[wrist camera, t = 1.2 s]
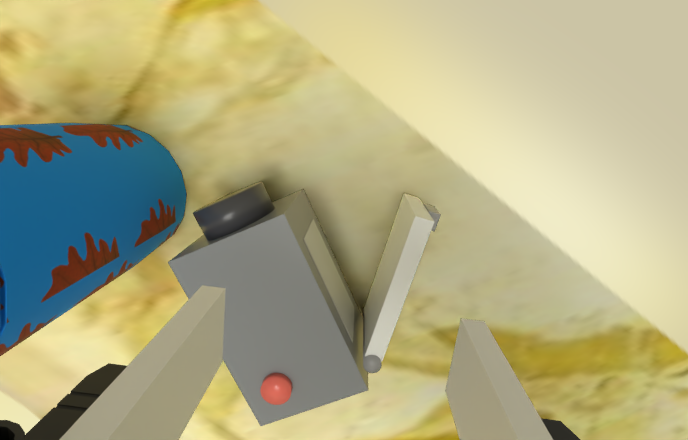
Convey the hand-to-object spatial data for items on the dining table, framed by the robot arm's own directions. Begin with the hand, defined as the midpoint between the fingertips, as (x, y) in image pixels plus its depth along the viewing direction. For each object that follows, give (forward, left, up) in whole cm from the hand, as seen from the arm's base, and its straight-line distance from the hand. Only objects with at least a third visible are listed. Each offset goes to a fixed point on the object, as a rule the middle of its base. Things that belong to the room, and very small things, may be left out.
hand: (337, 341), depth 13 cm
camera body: (-4, +7, -19) cm, 21 cm away
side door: (-5, -1, -19) cm, 20 cm away
